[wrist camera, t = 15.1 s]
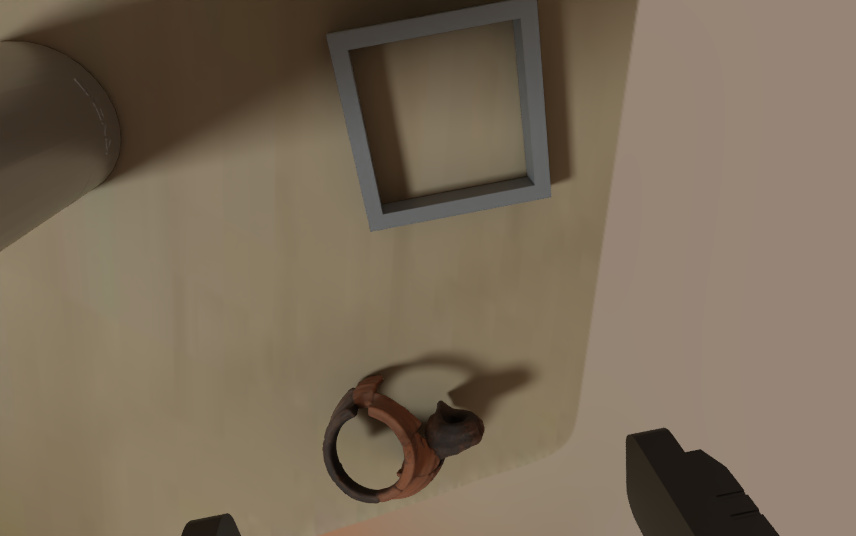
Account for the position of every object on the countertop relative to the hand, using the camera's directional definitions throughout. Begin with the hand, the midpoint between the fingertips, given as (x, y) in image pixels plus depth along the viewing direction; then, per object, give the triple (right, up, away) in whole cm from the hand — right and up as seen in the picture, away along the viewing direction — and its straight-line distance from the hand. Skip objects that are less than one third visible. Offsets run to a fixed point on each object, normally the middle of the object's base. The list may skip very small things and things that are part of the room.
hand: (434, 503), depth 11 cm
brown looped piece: (-2, -7, +35) cm, 35 cm away
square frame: (+1, +14, +25) cm, 28 cm away
